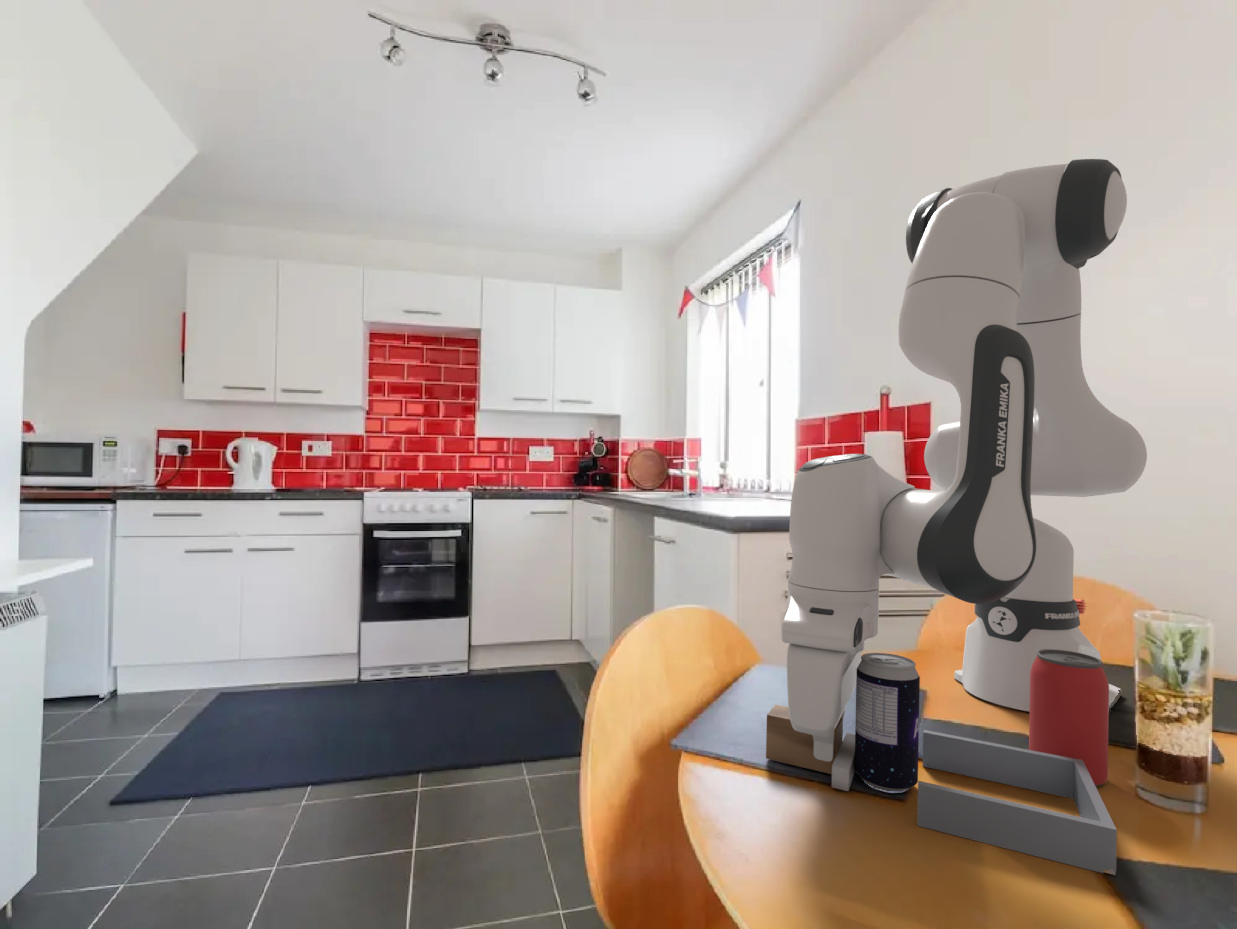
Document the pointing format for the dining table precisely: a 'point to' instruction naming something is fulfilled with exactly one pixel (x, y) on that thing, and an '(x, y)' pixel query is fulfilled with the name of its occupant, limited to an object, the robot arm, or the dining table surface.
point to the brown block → (809, 748)
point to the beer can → (1070, 709)
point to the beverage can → (887, 721)
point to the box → (1011, 822)
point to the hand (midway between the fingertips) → (828, 748)
